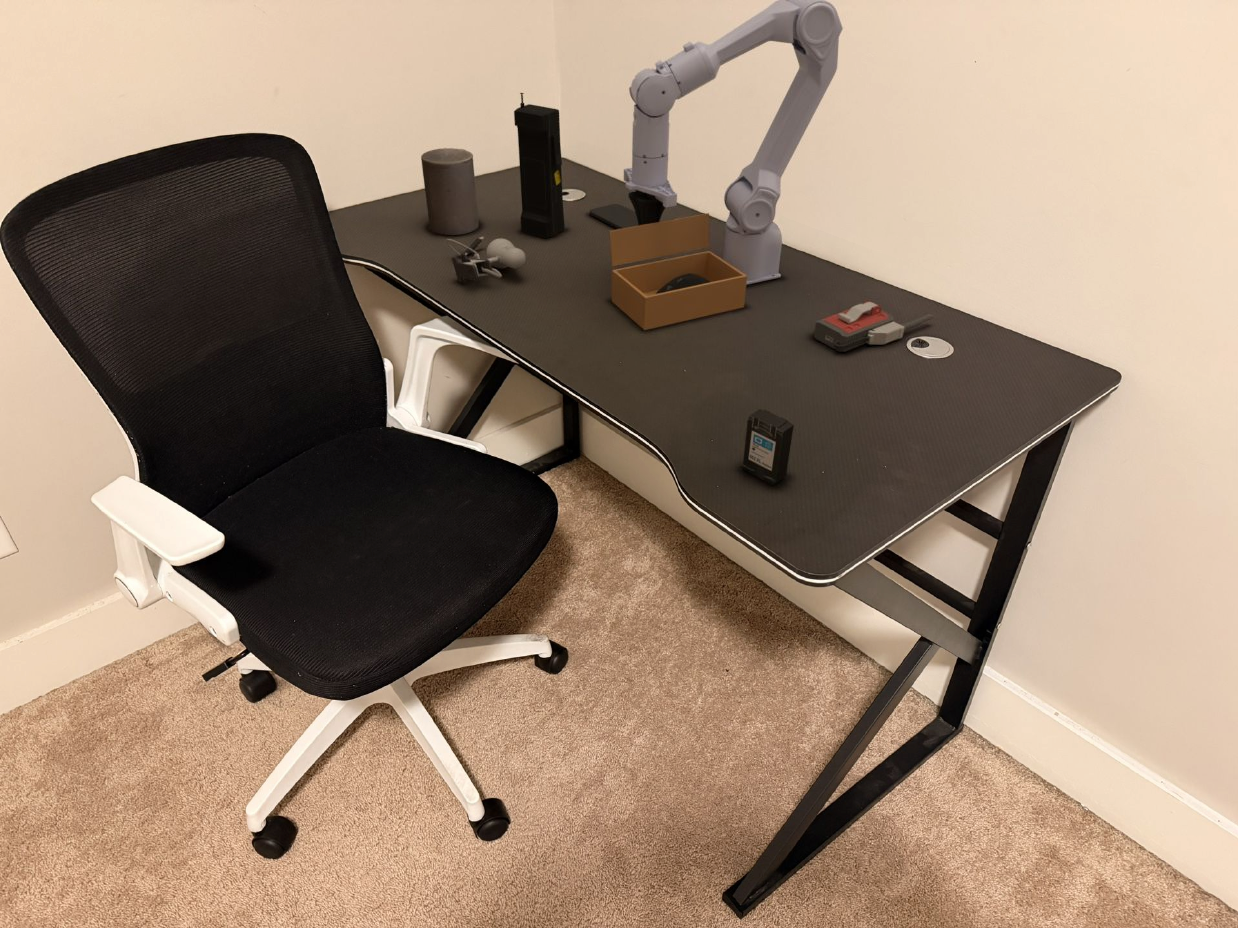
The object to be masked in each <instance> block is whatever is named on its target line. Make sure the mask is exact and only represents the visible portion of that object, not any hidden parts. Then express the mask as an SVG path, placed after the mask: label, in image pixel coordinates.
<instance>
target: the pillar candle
mask: <svg viewBox="0 0 1238 928" xmlns="http://www.w3.org/2000/svg"><path fill="white" fill-rule="evenodd" d="M420 160H421V168H422V176H423V186H424V192H425V199H426V200H425V201H426V209H427V217H428V223H429V226H428V228H429V230H430V231H431V232H433V233H435V234H438V235H442V236H460V235H466V234H469V233H472V232H474V231H476V230H478V228H479V210H478V200H477V190H476V189H477V188H476V177H475V167H474V154H473V153H472V152H471V151H469V150H466V149H464V148H454V147H449V148H448V147H443V148H435V149H430V150H428V151H425V152H423V153H422V154H421V157H420Z"/></svg>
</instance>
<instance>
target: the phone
mask: <svg viewBox="0 0 1238 928" xmlns="http://www.w3.org/2000/svg"><path fill="white" fill-rule="evenodd" d="M589 215H590V216H591V217H594V218H596V219H598V220H599V221H601V222H604V223H606V224H607V225H610V226H611V227H614V228H615V229H616V230H617V229H623V228H629V227H634V226H639V225H638V220H637V216H636V212H635V210H632V209H630V208H628V207H626V206H624V205H622V204H620V203H612V204H607V205H603V206H598V207H595V208H591V209H589Z"/></svg>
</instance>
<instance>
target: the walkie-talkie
mask: <svg viewBox="0 0 1238 928" xmlns="http://www.w3.org/2000/svg"><path fill="white" fill-rule="evenodd" d="M882 309H883V308H882V306H881V305H878V304H876V303H874V302H872V301H870V300H868V301H865V302H862V303H858V304H856V305H854V306H852V307H850V308H848V309H845V310H842V311H840V312H837V313H833V314H832V315H828V316H826V317H823V318H820V319H818V320H816V321H815V327H814V333H813V338H814V339H815V340H817V341H819V342H820V343H822V344H824V345H826V346H828V347H829V348H832V349H833V350H835V351H837V352H843V353H845V352H847V351H850V350H853V349H855V348H858V347H860V346H862V345H865V344H868V345H886V344H888V343H891V342H893V341H896V340H900V339H902V338H903V336H904V333H905V332H906V331H907V330H910V329H912V328H913V329H914V328H915V327H917V326H920V325H922V324H923V323H926V322H927V321H930V320H933V318H934V316H933V315H932V314H931V313H928V314H925V315H922V316H921V317H918V318H916V319H913V320H910V321H908V322H905V323H900V324H899V323H897V322H896V321H894V320H895V317H894V316H893V315H892V314H890V313H889V312H887V311H884V310H882Z"/></svg>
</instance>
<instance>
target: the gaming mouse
mask: <svg viewBox="0 0 1238 928" xmlns="http://www.w3.org/2000/svg"><path fill="white" fill-rule="evenodd" d="M705 283H710V281H709V280H707V279H705V278H703V277H701V276H699V275H696V274H691V273H689V274H684V275H681V276H679V277H676V278H674V279H673V280H671V281H670V282H668V283H667V284H665V285H664V286H663V287H662V288H661V289H660V290H658V291H657V293H656V294H659V293H664V292H668V291H673V290H678V289H682V288H687V287H692V286H696V285H701V284H705Z"/></svg>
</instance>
